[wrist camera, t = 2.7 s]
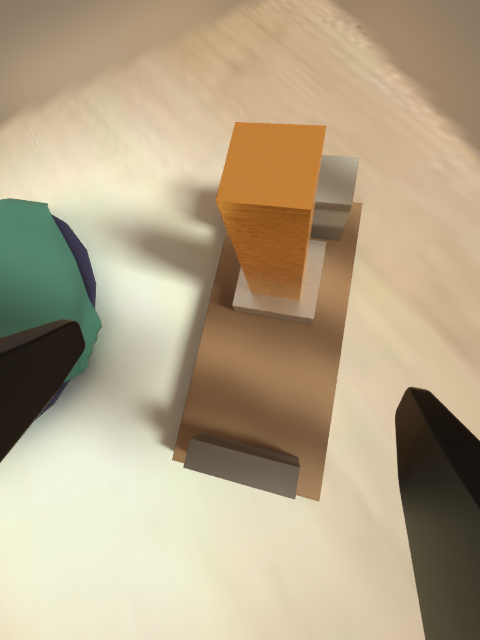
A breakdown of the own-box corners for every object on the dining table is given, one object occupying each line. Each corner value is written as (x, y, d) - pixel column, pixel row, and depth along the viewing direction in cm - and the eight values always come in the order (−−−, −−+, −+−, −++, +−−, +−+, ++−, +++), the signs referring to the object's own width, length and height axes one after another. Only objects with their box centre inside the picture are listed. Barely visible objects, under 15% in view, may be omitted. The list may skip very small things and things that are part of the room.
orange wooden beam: (311, 324, 19) (341, 244, 9) (236, 311, 20) (178, 225, 10) (337, 171, 21) (385, -43, 11) (267, 166, 22) (249, -34, 12)
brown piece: (316, 492, 18) (328, 535, 13) (180, 454, 20) (140, 478, 15) (357, 215, 22) (380, 158, 16) (238, 204, 24) (224, 149, 18)
